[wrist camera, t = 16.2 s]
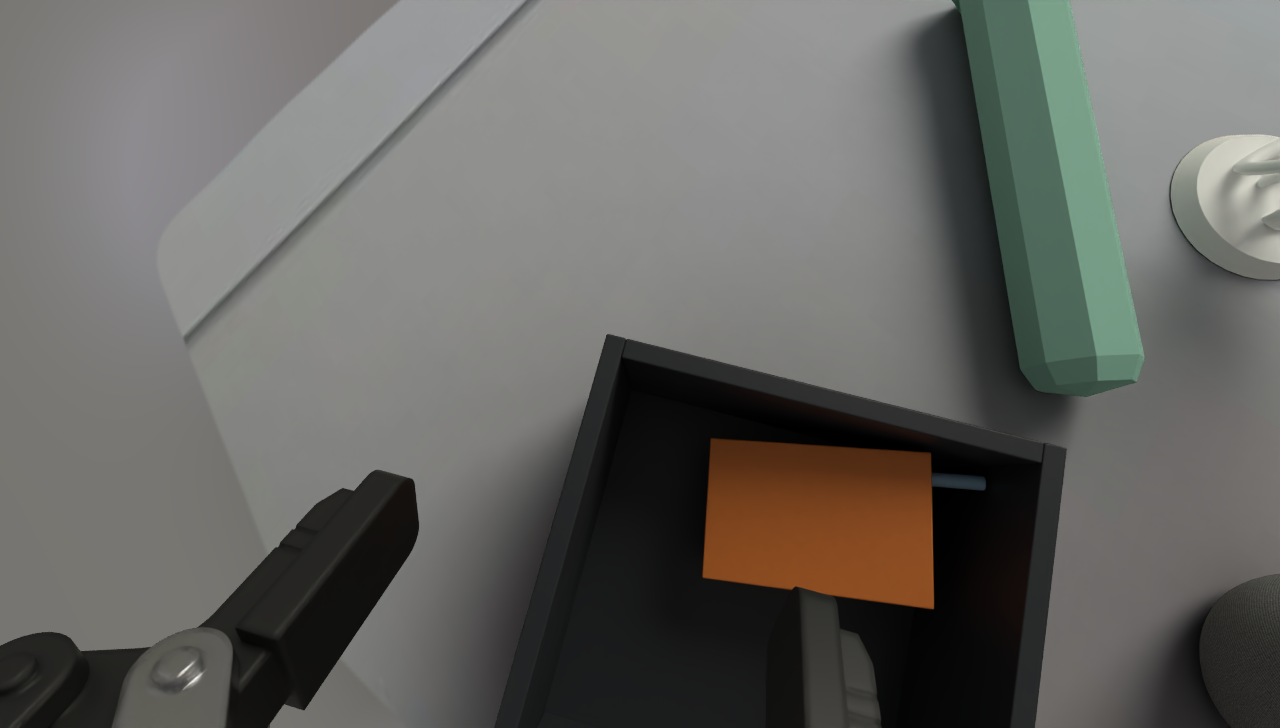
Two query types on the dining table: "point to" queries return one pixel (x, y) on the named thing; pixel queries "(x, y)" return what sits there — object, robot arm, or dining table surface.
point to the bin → (745, 614)
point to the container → (1051, 198)
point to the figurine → (1232, 203)
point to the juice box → (824, 519)
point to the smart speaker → (1244, 654)
